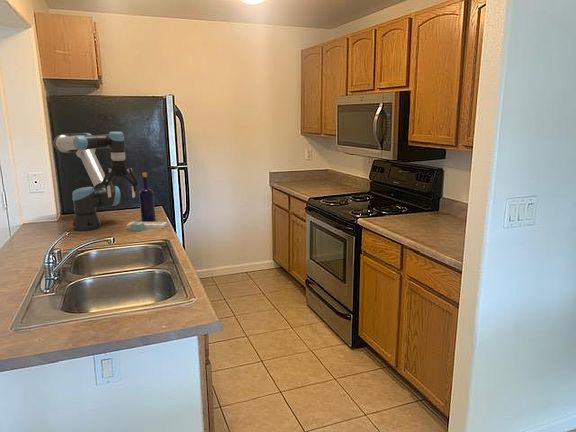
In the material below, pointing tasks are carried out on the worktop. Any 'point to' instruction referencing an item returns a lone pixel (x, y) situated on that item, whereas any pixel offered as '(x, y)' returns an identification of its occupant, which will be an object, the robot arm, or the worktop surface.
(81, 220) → the robot arm
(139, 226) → the stub
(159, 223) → the slab
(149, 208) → the bottle
